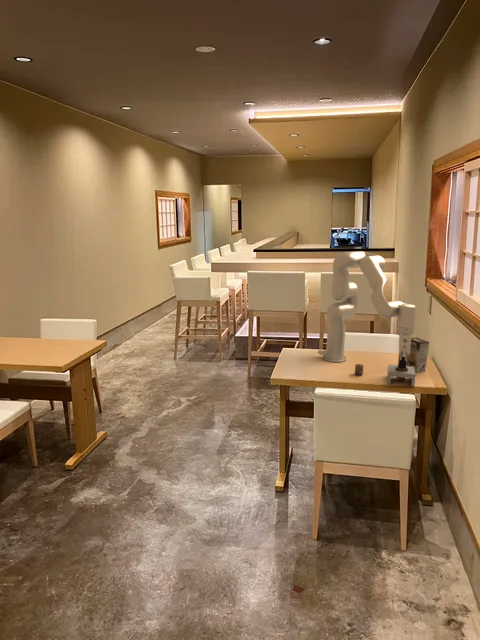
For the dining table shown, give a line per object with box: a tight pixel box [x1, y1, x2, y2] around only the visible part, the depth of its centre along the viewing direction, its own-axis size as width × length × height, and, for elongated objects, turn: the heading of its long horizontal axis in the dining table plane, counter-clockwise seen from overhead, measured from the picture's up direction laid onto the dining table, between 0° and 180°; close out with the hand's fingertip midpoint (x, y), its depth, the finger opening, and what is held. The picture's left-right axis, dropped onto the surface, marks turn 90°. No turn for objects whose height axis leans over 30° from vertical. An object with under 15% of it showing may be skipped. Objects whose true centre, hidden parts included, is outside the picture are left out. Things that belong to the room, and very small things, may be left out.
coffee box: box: [407, 336, 430, 374], centre depth 261 cm, size 9×6×16 cm
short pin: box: [354, 363, 364, 377], centre depth 252 cm, size 4×4×5 cm
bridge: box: [387, 363, 416, 387], centre depth 244 cm, size 12×12×6 cm
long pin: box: [396, 353, 408, 381], centre depth 243 cm, size 4×4×15 cm
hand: (402, 366), depth 243 cm, fingers closed on long pin, 4 cm apart
